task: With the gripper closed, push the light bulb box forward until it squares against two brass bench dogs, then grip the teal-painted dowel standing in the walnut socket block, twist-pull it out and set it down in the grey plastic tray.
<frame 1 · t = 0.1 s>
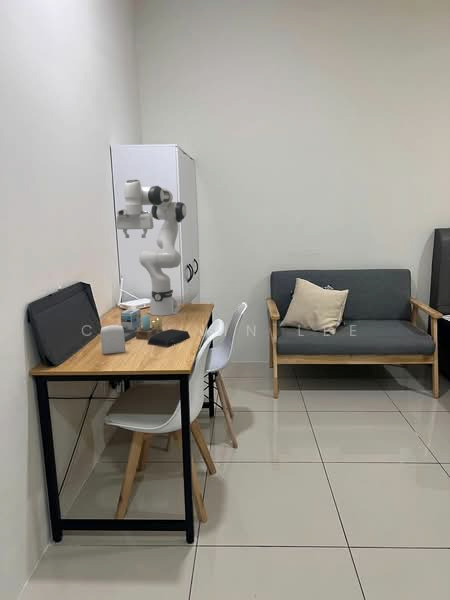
hand: (135, 237, 242), 48 cm above the table, fingers open, 8 cm apart
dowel: (146, 326, 226), in the socket block
light bulb box: (131, 331, 241), on the table
external hard drive: (169, 342, 221), on the table
socket block: (146, 337, 227), on the table
photo printer: (113, 352, 204), on the table
tray: (124, 337, 228), on the table
dog 2: (159, 331, 238), on the table
dog 1: (155, 334, 233), on the table
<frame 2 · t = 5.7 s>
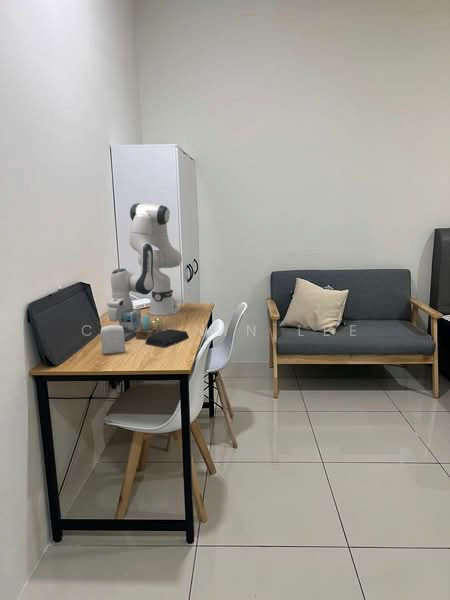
hand: (122, 325, 240), 3 cm above the table, fingers closed
light bulb box: (131, 330, 241), on the table, touching gripper
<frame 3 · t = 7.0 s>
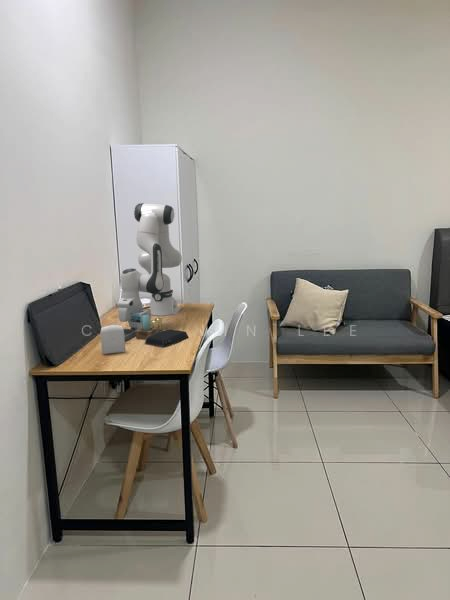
hand: (132, 326, 239), 3 cm above the table, fingers closed, pressing on light bulb box
light bulb box: (140, 331, 239), on the table, touching gripper
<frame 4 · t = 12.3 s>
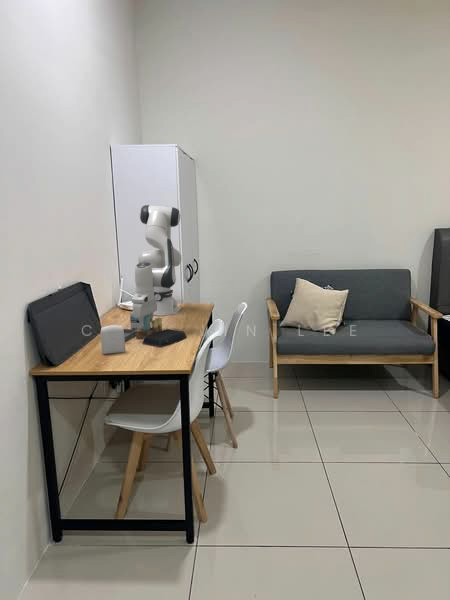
hand: (146, 323, 226), 7 cm above the table, fingers open, 8 cm apart
light bulb box: (141, 331, 239), on the table
external hard drive: (165, 342, 221), on the table
everything else where it was.
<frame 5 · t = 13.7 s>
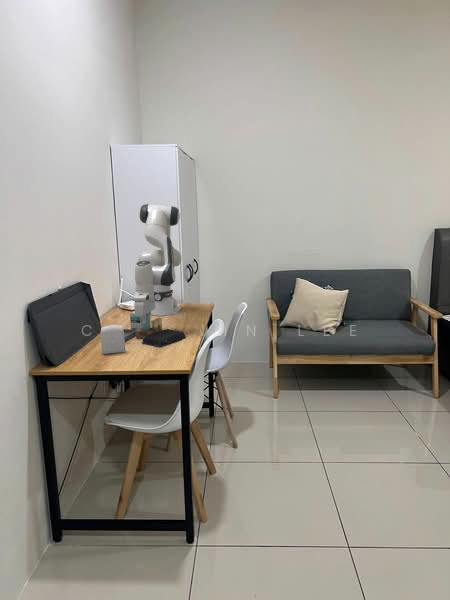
hand: (146, 321, 226), 8 cm above the table, fingers closed on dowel, 4 cm apart
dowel: (145, 324, 226), in the socket block, point 6 cm above the table, touching gripper
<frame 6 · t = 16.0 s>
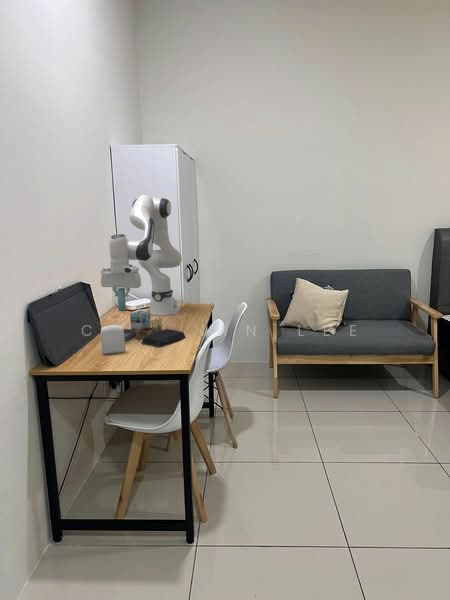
hand: (121, 296, 224), 21 cm above the table, fingers closed on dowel, 4 cm apart
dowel: (121, 299, 224), point 19 cm above the table, touching gripper
everything else where it was.
when the fingers open (8 cm above the table, at t = 18.5 s): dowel stays where it is, resting on tray.
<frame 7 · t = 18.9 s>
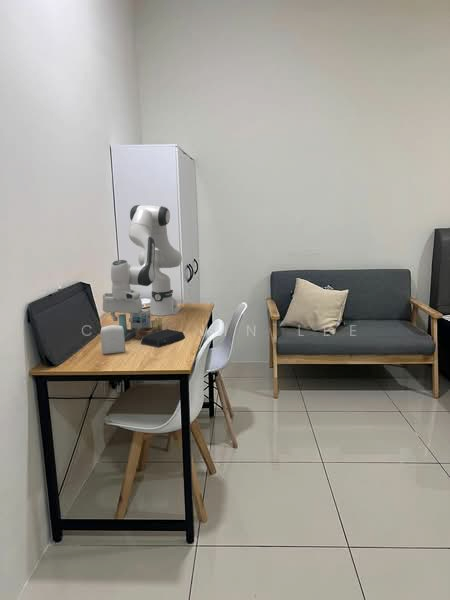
hand: (123, 321, 226), 8 cm above the table, fingers open, 7 cm apart
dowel: (123, 325, 226), in the tray, point 6 cm above the table
external hard drive: (163, 342, 221), on the table, touching socket block
everything else where it was.
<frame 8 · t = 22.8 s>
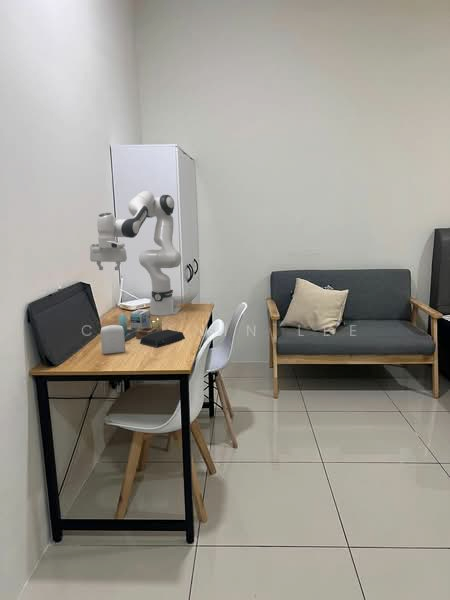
hand: (108, 270, 244), 31 cm above the table, fingers open, 8 cm apart
external hard drive: (162, 342, 220), on the table
everything else where it was.
at the end: light bulb box inside the target area (2.9 cm from its centre), on the table; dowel inside the target area on the tray (0.3 cm from its centre), point 6.2 cm above the tray's base; the gripper is holding nothing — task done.
